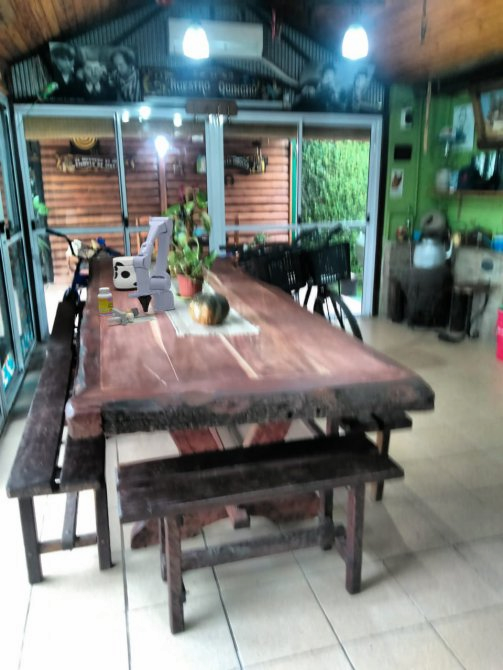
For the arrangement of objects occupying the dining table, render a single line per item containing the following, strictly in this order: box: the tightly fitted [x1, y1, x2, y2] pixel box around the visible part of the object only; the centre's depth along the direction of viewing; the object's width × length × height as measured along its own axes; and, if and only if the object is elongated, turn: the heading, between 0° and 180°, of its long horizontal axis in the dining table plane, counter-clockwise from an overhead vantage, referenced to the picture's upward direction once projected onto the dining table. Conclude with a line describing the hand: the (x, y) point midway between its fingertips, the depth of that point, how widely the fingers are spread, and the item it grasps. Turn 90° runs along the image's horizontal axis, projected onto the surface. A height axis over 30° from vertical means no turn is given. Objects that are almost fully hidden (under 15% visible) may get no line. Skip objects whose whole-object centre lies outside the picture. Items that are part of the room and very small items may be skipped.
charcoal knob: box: [112, 307, 140, 318], centre depth 235 cm, size 11×4×4 cm, turn 123°
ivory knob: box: [106, 313, 134, 324], centre depth 226 cm, size 11×4×4 cm, turn 123°
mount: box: [111, 307, 156, 326], centre depth 233 cm, size 15×14×6 cm
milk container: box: [112, 255, 137, 291], centre depth 304 cm, size 17×17×18 cm
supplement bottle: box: [97, 287, 114, 317], centre depth 243 cm, size 7×7×13 cm
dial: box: [124, 308, 131, 321], centre depth 231 cm, size 2×2×5 cm
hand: (145, 311), depth 240 cm, fingers closed
